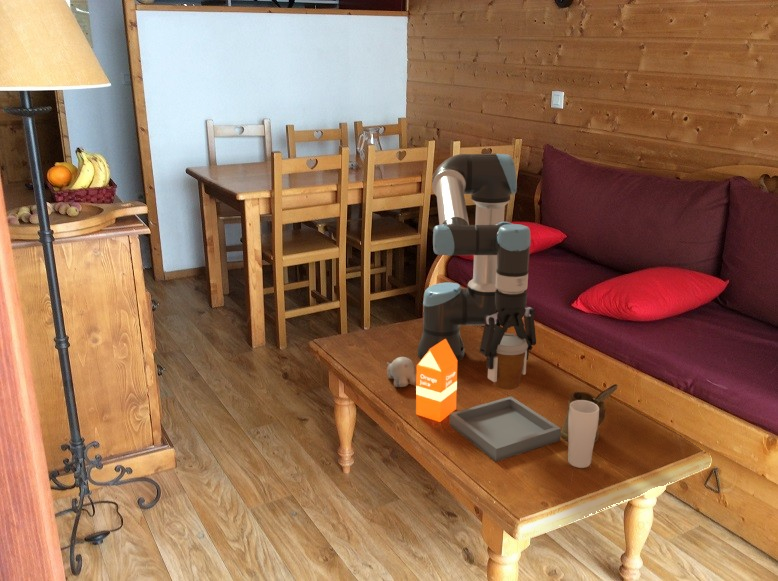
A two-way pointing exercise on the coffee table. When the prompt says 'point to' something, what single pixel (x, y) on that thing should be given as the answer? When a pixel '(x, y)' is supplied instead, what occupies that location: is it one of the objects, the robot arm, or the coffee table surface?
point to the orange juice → (437, 383)
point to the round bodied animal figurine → (401, 372)
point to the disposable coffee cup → (510, 361)
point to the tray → (504, 428)
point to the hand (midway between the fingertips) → (506, 376)
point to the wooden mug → (589, 397)
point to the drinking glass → (582, 432)
